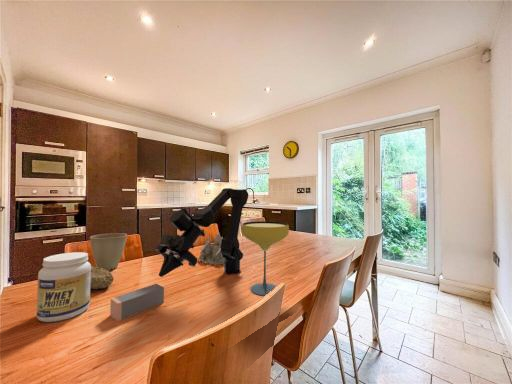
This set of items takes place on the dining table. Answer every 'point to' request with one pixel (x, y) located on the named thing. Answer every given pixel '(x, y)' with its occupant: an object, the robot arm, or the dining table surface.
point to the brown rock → (100, 278)
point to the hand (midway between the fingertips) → (159, 276)
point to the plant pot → (108, 249)
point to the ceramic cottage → (212, 251)
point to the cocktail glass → (264, 244)
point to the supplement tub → (63, 286)
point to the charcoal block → (136, 301)
